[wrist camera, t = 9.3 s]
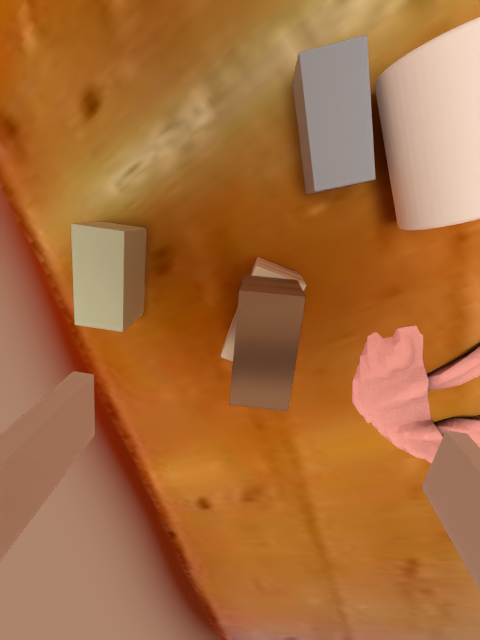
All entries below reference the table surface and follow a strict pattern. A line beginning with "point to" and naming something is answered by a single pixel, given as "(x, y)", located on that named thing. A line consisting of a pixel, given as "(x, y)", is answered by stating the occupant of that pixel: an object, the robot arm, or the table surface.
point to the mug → (434, 130)
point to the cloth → (409, 392)
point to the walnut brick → (266, 342)
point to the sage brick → (108, 274)
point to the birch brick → (265, 270)
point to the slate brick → (334, 115)
